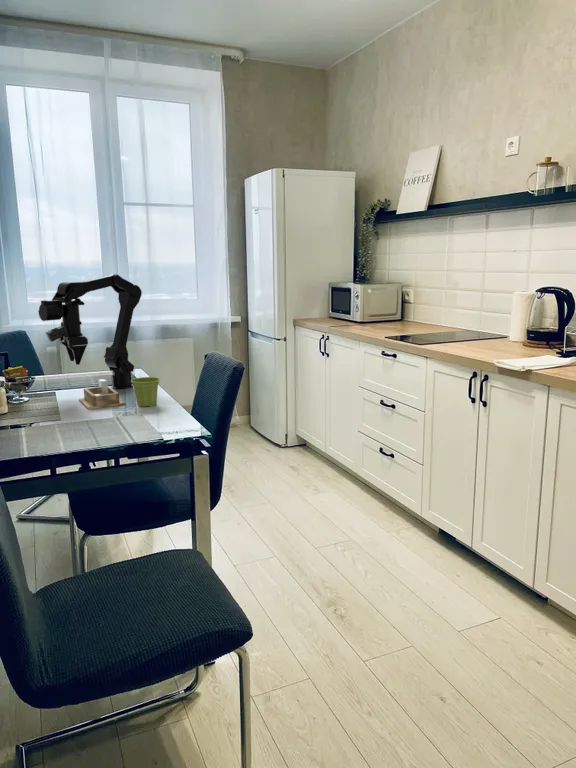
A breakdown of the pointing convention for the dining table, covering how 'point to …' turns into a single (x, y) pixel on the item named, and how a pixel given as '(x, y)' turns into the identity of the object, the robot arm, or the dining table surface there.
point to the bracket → (102, 387)
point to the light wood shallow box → (100, 398)
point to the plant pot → (146, 390)
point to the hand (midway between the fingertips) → (74, 362)
